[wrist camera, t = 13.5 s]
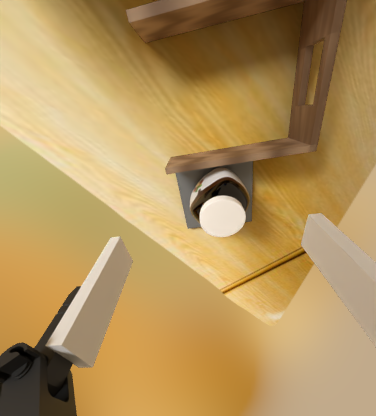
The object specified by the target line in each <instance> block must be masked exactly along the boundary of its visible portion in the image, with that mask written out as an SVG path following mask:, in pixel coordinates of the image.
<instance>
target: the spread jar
mask: <svg viewBox="0 0 376 416" xmlns="http://www.w3.org/2000/svg"><path fill="white" fill-rule="evenodd" d="M249 202H250V198H249V194H248V192H247V190H246V188H245V186H244V185H243V183H242V182H241V180H240V179H239V178H238V177H237V176H236V175H235V174H234V173H233V172H232V171H230V170H229V169H227V168H223V167H220V168H216V169H214V170H212V171H210V172H208V173H207V174H206V175H204V176H203V177H202V178H201V179H200V180H199V182H198V183H197V185H196V186H195V188H194V190H193V192H192V194H191V198H190V211H191V214H192V216H193V217H194V218H195V219H196V220H197V221H198V222H199V223H200V224H201V227H202V228H203V230H204V231H205V232H206V233H208V234H209V235H212V236H215V237H227V236H231V235H233V234H235V233H237V232H238V231H239V230H240V229H241V228H242V227H243V225H244V223H245V220H246V214H245V212H246V210H247V208H248V206H249Z"/></svg>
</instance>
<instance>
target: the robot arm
mask: <svg viewBox="0 0 376 416" xmlns="http://www.w3.org/2000/svg"><path fill="white" fill-rule="evenodd" d="M301 246H302V247H303V248H304V250H305V251H306V252H307V254H308V255H309V257H310V258H311V259H312V261H313V262H314V263H315V265H316V266H317V267H318V269H319V270H320V272H321V273H322V274H323V276H324V277H325V278H326V280H327V281H328V282H329V284H330V285H331V287H332V288H333V289H334V291H335V292H336V293H337V295H338V296H339V298H340V299H341V300H342V302H343V303H344V304H345V306H346V307H347V308H348V310H349V311H350V313H351V314H352V315H353V317H354V318H355V319H356V321H357V322H358V323H359V325H360V326H361V328H362V329H363V330H364V332H365V333H366V334H367V336H368V337H369V339H370V340H371V341H372V343H373V344H374V345H375V346H376V262H375V261H374V260H373V259H372V258H371V257H369V256H368V255H367V254H366V253H365V252H364V251H363V250H362V249H361V248H359V247H358V246H357V245H356V244H355V243H354V242H353V241H352V240H351V239H349V238H348V237H347V236H346V235H345V234H344V233H343V232H342V231H341V230H339V229H338V228H337V227H336V226H335V225H334V224H333V223H332V222H330V221H329V220H328V219H327V218H326V217H325V216H324V215H323V214H322V213H317V214H308V218H307V222H306V226H305V230H304V234H303V238H302V242H301ZM132 263H133V260H132V258H131V256H130V254H129V252H128V251H127V249H126V247H125V245H124V243H123V241H122V239H121V237H113V238H110V240H109V241H108V243H107V245H106V246H105V248H104V250H103V251H102V253H101V255H100V256H99V258H98V260H97V261H96V263H95V265H94V266H93V268H92V269H91V271H90V273H89V274H88V276H87V278H86V280H85V281H84V283H83V284H82V286H79V287H76V288H75V289H74V290H73V291H72V292H71V293H70V294H69V295H68V297H67V299H66V300H65V302H64V303H63V306H62V307H61V308H60V309H59V311H58V314H57V315H56V316H55V317H54V319H53V320H52V322H51V323H50V325H49V326H48V328H47V330H46V331H45V333H44V334H43V336H42V337H41V339H40V341H39V342H38V344H37V345H36V346H35V348H32V347H30V346H29V345H27V344H25V343H17V344H16V345H14V346H12V347H10V348H9V349H7V350H6V351H5V352H4V353H3V354H2V355H1V356H0V416H77V415H76V405H75V397H74V387H73V379H72V373H71V371H70V368H71V366H72V364H74V365H76V366H77V367H82V368H83V367H93V365H94V363H95V360H96V357H97V355H98V352H99V349H100V347H101V344H102V342H103V339H104V336H105V334H106V331H107V328H108V326H109V323H110V320H111V318H112V315H113V313H114V310H115V307H116V305H117V302H118V299H119V297H120V294H121V292H122V289H123V286H124V283H125V281H126V278H127V276H128V273H129V271H130V268H131V265H132Z"/></svg>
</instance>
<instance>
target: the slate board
mask: <svg viewBox="0 0 376 416" xmlns="http://www.w3.org/2000/svg"><path fill="white" fill-rule="evenodd" d="M220 167H223V168H227V169H229V170H230V171H232V172H233V173H234V174H235V175H236V176H237V177H238V178H239V179H240V180H241V182H242V183H243V185H244V186H245V188H246V190H247V192H248V194H249V198H250V202H249V206H248V208H247V210H246V212H245V214H246V220H245V222H250V221H252V180H253V161H249V162H243V163H236V164H230V165H223V166H217V167H210V168H204V169H198V170H191V171H185V172H178V173H176V177H177V182H178V186H179V191H180V195H181V200H182V204H183V209H184V213H185V218H186V223H187V227H188V228H197V227H201V224H200V223H199V222H198V221H197V220H196V219H195V218H194V217H193V216H192V214H191V211H190V198H191V194H192V192H193V190H194V188H195V186H196V185H197V183H198V182H199V180H200V179H201V178H202V177H203V176H204V175H206V174H207V173H208V172H210V171H212V170H214V169H216V168H220Z"/></svg>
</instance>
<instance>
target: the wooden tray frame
mask: <svg viewBox="0 0 376 416" xmlns="http://www.w3.org/2000/svg"><path fill="white" fill-rule="evenodd" d="M300 2H304V7H303V15H302V24H301V32H300V41H299V49H298V58H297V66H296V75H295V84H294V92H293V101H292V109H291V118H290V126H289V135H288V138H283V139H278V140H272V141H266V142H260V143H254V144H248V145H242V146H236V147H230V148H224V149H218V150H212V151H206V152H200V153H194V154H188V155H182V156H176V157H171V158H170V160H169V162H168V164H167V166H166V168H165V170H166V174H172V173H178V172H185V171H191V170H198V169H204V168H210V167H217V166H223V165H230V164H236V163H243V162H249V161H255V160H262V159H268V158H275V157H281V156H287V155H294V154H300V153H307V152H313V151H316V150H317V145H318V140H319V135H320V130H321V125H322V120H323V116H324V111H325V106H326V101H327V96H328V91H329V86H330V81H331V76H332V71H333V66H334V61H335V56H336V52H337V47H338V42H339V37H340V32H341V27H342V22H343V17H344V12H345V7H346V2H347V0H159V1H155V2H152V3H148V4H145V5H141V6H138V7H135V8H131V9H128V10H126V13H127V17H128V21H129V23H130V25H131V26H132V27H133V28H134V30H135V31H136V32H137V33H138V35H139V36H140V37H141V38H142V40H143V41H144V42H145V43H147V42H150V41H154V40H158V39H162V38H166V37H170V36H173V35H177V34H181V33H185V32H189V31H193V30H196V29H200V28H204V27H208V26H212V25H216V24H219V23H223V22H227V21H231V20H235V19H239V18H243V17H246V16H250V15H254V14H258V13H262V12H266V11H269V10H273V9H277V8H281V7H285V6H289V5H292V4H296V3H300ZM323 40H324V45H323V51H322V57H321V62H320V68H319V74H318V80H317V86H316V92H315V97H314V103H313V105H305V100H306V94H307V87H308V80H309V74H310V67H311V60H312V54H313V47H314V45H315V44H317V43H319V42H321V41H323Z"/></svg>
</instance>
